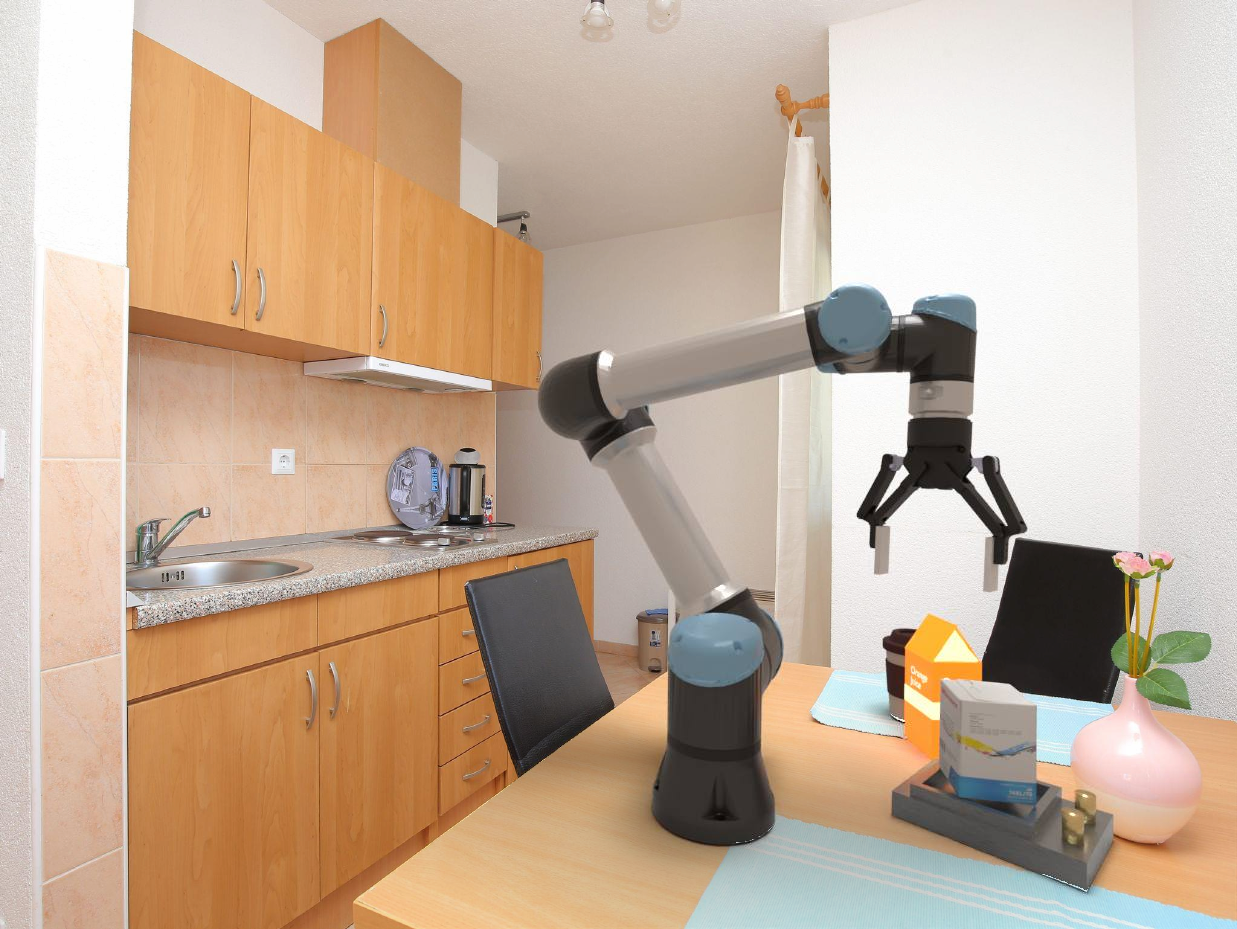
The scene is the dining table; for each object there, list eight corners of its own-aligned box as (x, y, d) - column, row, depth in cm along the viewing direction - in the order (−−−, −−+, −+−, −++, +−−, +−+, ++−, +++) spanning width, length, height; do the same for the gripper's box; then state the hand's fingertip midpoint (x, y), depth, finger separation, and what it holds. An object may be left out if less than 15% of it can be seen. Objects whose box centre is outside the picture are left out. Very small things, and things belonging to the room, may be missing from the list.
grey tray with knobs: (891, 815, 80) (892, 766, 80) (934, 779, 90) (935, 736, 90) (1086, 892, 66) (1087, 833, 66) (1113, 840, 76) (1113, 788, 76)
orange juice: (950, 736, 105) (951, 613, 106) (982, 760, 97) (983, 626, 97) (902, 736, 105) (904, 613, 105) (930, 760, 96) (932, 625, 97)
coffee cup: (873, 719, 112) (874, 632, 112) (892, 704, 120) (893, 623, 120) (935, 734, 106) (935, 643, 106) (950, 718, 113) (951, 632, 114)
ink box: (1038, 807, 74) (1039, 705, 74) (957, 798, 76) (958, 698, 76) (1009, 773, 82) (1010, 681, 83) (937, 766, 84) (938, 676, 84)
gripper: (835, 417, 90) (829, 569, 90) (1043, 412, 72) (1034, 602, 72) (861, 421, 95) (855, 565, 95) (1061, 417, 77) (1053, 595, 77)
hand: (932, 582), depth 83 cm, fingers open, 13 cm apart
